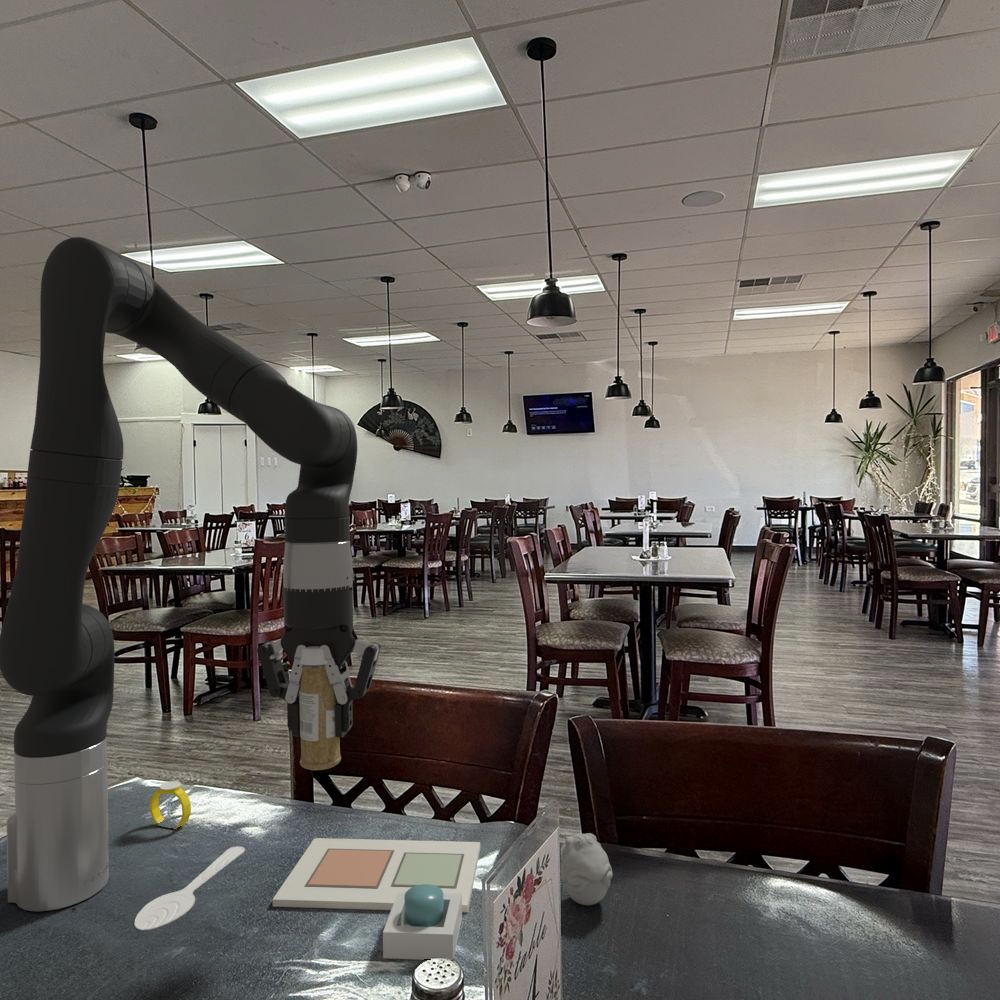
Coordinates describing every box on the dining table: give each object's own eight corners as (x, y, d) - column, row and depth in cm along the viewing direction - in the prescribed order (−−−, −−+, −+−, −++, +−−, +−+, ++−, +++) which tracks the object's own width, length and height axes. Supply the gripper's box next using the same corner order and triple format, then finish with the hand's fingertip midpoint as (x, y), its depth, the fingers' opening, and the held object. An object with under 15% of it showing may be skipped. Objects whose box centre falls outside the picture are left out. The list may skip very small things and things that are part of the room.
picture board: (272, 906, 78) (272, 898, 78) (314, 844, 92) (314, 837, 92) (467, 912, 77) (467, 904, 77) (480, 848, 91) (480, 841, 91)
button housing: (383, 958, 69) (382, 932, 69) (398, 915, 76) (398, 892, 76) (453, 960, 69) (452, 934, 69) (462, 917, 76) (461, 894, 76)
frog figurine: (596, 879, 83) (595, 820, 83) (624, 912, 76) (623, 849, 76) (548, 888, 81) (548, 829, 81) (573, 923, 74) (572, 858, 74)
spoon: (258, 851, 91) (258, 847, 91) (162, 936, 74) (162, 931, 74) (222, 847, 92) (222, 843, 92) (119, 929, 75) (119, 925, 75)
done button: (401, 927, 71) (400, 905, 71) (409, 904, 75) (408, 883, 75) (440, 928, 70) (439, 906, 70) (446, 905, 74) (445, 884, 74)
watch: (194, 827, 98) (196, 785, 98) (179, 836, 96) (181, 793, 95) (160, 818, 100) (161, 777, 100) (144, 827, 97) (146, 784, 97)
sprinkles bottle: (346, 766, 77) (345, 644, 77) (306, 775, 75) (304, 650, 75) (333, 753, 81) (332, 637, 81) (294, 761, 79) (292, 642, 79)
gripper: (241, 586, 75) (243, 745, 75) (371, 586, 74) (373, 748, 74) (271, 578, 82) (273, 722, 83) (389, 578, 81) (391, 725, 81)
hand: (320, 733), depth 78 cm, fingers closed on sprinkles bottle, 4 cm apart
